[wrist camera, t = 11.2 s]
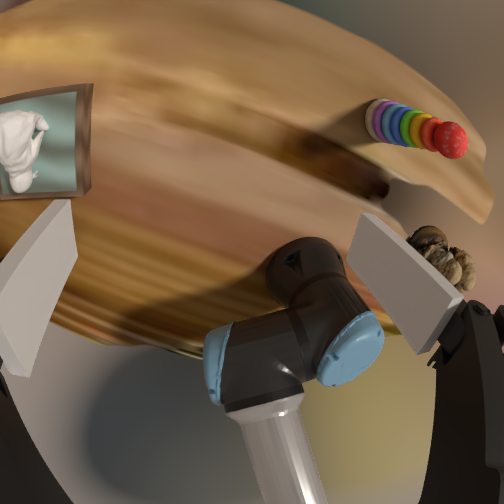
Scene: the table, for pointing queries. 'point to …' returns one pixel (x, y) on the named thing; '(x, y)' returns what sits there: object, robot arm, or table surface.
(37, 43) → the table surface
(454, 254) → the owl figurine
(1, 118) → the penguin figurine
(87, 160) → the square wooden tray
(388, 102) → the stacking toy
